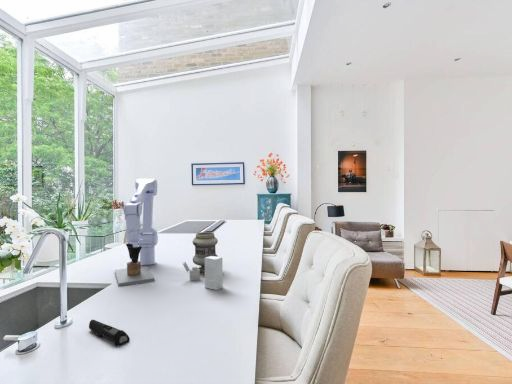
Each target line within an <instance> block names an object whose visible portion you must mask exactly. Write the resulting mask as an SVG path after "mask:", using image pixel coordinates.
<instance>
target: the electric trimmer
mask: <svg viewBox="0 0 512 384" xmlns="http://www.w3.org/2000/svg"><path fill="white" fill-rule="evenodd" d="M88 328H89V330H90V331H91V332H92V333H94V334H95V335H96V336H97V337H100V338H102V337H104V338H105V339H108V340H109V341H111V342H113V343H114V345H115V347H121V346H123V345H126V344H128V343H130V337H129V335H128V333H126V332H125V331H124V330H123V329H119V328H116V327H114V326H111V325H108V324H106V323H103V322H100V321H98V320H95V319H91V320H90V321H89V323H88Z"/></svg>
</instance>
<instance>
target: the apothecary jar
mask: <svg viewBox="0 0 512 384" xmlns="http://www.w3.org/2000/svg"><path fill="white" fill-rule="evenodd" d="M215 236H216V235H215V233H214V232H213V231H201V232H196V235H195V238H193V240H192V244H193V246H194V249H195V250H194V251H195V252H194V256H192V262H193V263H194V264H195V265H197V266H199V267H197V268H198V269H200V275H201V274H203V275H205V258H206V257H209V256H215V257H219V256H218V254H217V252H216V245H217V244H218V238H217V237H215Z"/></svg>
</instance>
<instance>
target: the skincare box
mask: <svg viewBox="0 0 512 384" xmlns="http://www.w3.org/2000/svg"><path fill="white" fill-rule="evenodd" d="M223 267H224V266H223V257H222V256H218V257H215V256H209V257H206V258H205V274H204V288H205V289H210V290H215V291H217V290H220V289H221V288H223V286H224V285H223V284H224V281H223V280H224V279H223V275H224V274H223V273H224V272H223Z"/></svg>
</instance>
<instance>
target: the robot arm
mask: <svg viewBox="0 0 512 384" xmlns="http://www.w3.org/2000/svg"><path fill="white" fill-rule="evenodd" d="M134 183H135V185H134V186H135V189H136V190H135V193H133V194H132V196H131V197H130V199H129V202H128V203H126V204H124V208H123V214H124V219H125V220H124V221H126V223H125V224H126V225H125V228H126V229H125V230H126V231H125V232H126V239H125V242H126V243H125V245H126V247H127V251H128V257H129V260H131V262H132V263H137V262H138V261H140V262H141V267H142V266H148V265H156V264H157V261H156V259H155V258H156V257H155V256H156V252H155V251H156V249H155V247H156V246H157V245H158V242H159V236H158V230H157V229H155V228H154V227H153V213H154V212H153V208H154V197H155V196H157V195H158V194H157V193H158V181H157V179H156V178H137V179H136V180H135V182H134ZM141 215H142V227H141Z"/></svg>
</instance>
